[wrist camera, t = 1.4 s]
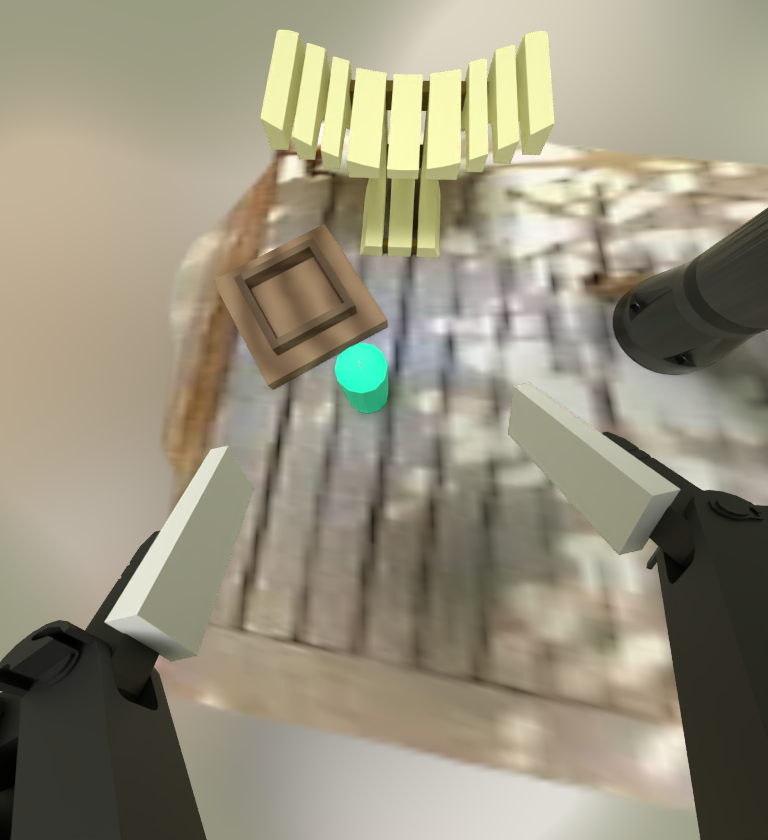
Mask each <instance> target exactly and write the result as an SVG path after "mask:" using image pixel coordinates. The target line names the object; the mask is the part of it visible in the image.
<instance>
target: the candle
mask: <svg viewBox="0 0 768 840" xmlns="http://www.w3.org/2000/svg"><path fill="white" fill-rule="evenodd" d="M335 372H336V376H337V380H338V382H339V384H340V386H341V387H342V389H343V391H344V393H345V395H346V396H347V398H348V400H349V402H350V403H351V405H352V406H353V407H354V408H355V409H357V410H358V411H359V412H363V413H368V414H370V413H373V412H376V411H379V410H380V409H381V408H382V407H383V406H384V405H385V404H386V402H387V397H388V365H387V362H386V359H385V356H384V354H383V353H382V352H381V351H380V350H379V349H378V348H376V347H375V346H374V345H371V344H365V343H358V344H356V345H354V346H351V347H349V348H347V349H346V350H345V351H343V352H342V353H341V354H340V355H339V356H338V357H337V362H336V366H335Z"/></svg>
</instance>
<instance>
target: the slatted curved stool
mask: <svg viewBox="0 0 768 840" xmlns="http://www.w3.org/2000/svg"><path fill="white" fill-rule="evenodd" d="M387 110H391V122H390V136H389V144H388V133H387ZM421 111H426V120H425V130H424V140H423V145H420V128H421ZM295 116H296V117H295ZM294 118H295V123H294V129H293V136H292V137H293V140H294V144H295V147H296V150H297V154H298V157H299V159H313V160H315V155H316V149H317V142H318V137H319V131H320V126H321V122H322V120H325V122H324V129H323V137H322V145H321V154H322V158H323V163H324V167H325V169H340V166H341V158H342V151H343V143H344V137H345V132H346V128H347V129H349V130H350V135H349V144H348V153H347V166H348V173H349V177H355V178H369V181H368V185H367V189H366V193H365V204H364V215H363V226H362V238H361V249H360V255H374V256H382V254H383V252H385V253H388V256H403V257H411V253H415V254H416V257H433V258H439V240H440V200H441V194H440V187H439V181H438V180H457V176H458V171H459V167H460V157H461V132H462V131H465V133H466V172H483V169H484V166H485V162H486V159H487V156H488V123H491V127H492V140H493V163H494V164H510V163H511V160H512V158H513V155H514V152H515V150H516V147H517V145H518V142H519V127H518V123H519V121H520V129H521V141H522V155H540V153H541V151H542V149H543V147H544V145H545V142H546V140H547V138H548V136H549V134H550V132H551V130H552V127H553V125H554V109H553V96H552V84H551V71H550V58H549V45H548V35H547V32H544V31H539V32H532V33H529V34H525V35H524V37H523V39H522V41H521V44H520V46H519V49H518V52H517V55H516V58H515V45H511V46H507V47H503V48H500V49H497V50H495V53H494V56H493V59H492V62H491V66H490V70H489V74H488V78H487V59H486V58H484V59H480V60H476V61H472V62H469V66H468V70H467V74H466V79H465V81H461V69H458V70H451V71H446V72H439V73H431V74H430V80H429V81H423V74H418V75H417V74H416V75H405V74H404V75H403V74H394V80H393V81H388V80H387V73H383V72H376V71H371V70H366V69H360V68H357V70H356V80H352V75H351V67H350V62H349V61H347V60H344V59H341V58H337V57H333V61H332V69H331V74H330V68H329V62H328V57H327V53H326V49H325V48H322V47H319V46H316V45H313V44H309V43H307V48H306V54H305V51H304V47H303V43H302V40H301V37H300V35H299V33H296V32H293V31H289V30H278V31H277V35H276V40H275V45H274V50H273V55H272V61H271V66H270V71H269V77H268V81H267V87H266V92H265V98H264V102H263V108H262V113H261V121H262V123H263V126H264V129H265V132H266V134H267V137H268V139H269V142H270V145H271V148H272V149H278V150H288V148H289V142H290V137H291V132H292V127H293V122H294ZM419 168H421V172H420V186H419V206H418V229H417V239H412V227H413V207H414V190H415V179H418V172H419ZM387 178H392V185H391V205H390V222H389V238H384V226H385V212H386V198H387Z"/></svg>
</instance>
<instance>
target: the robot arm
mask: <svg viewBox="0 0 768 840" xmlns="http://www.w3.org/2000/svg"><path fill="white" fill-rule="evenodd" d="M614 329H615V333H616V336H617V339H618V341H619V343H620V344H621V346H622V347H623V349H624V350H625V351H626V352H627V354H628V355H629V356H630V357H631V358H633V359H634V360H635V361H636V362H638V363H639V364H641V365H642V366H644V367H646V368H648V369H650V370H653V371H656V372H659V373H664V374H685V373H689V372H692V371H695V370H698V369H701V368H704V367H707V366H709V365H711V364H713V363H715V362H717V361H718V360H720V359H721V358H723V357H724V356H725V355H727V354H728V353H730V352H731V351H733V350H734V349H735V348H737V347H738V346H740V345H741V344H743V343H744V342H745V341H747V340H748V339H750V338H751V337H753V336H754V335H755V334H757V333H760V332H762V331H765V330H767V329H768V208H767V209H765V210H764V211H762V212H761V213H759V214H758V215H757V216H755V217H754V218H752V219H751V220H749V221H748V222H746V223H745V224H744V225H742V226H741V227H739V228H738V229H736V230H735V231H734V232H732V233H731V234H729V235H728V236H726V237H725V238H723V239H722V240H721V241H719V242H718V243H716V244H715V245H713V246H712V247H711V248H709V249H708V250H707V251H705V252H704V253H702V254H701V255H699V256H698V257H697V258H695V259H694V260H692V261H690V262H687V263H685V264H682V265H680V266H678V267H675V268H673V269H670V270H668V271H665V272H663V273H660V274H658V275H655V276H653V277H650V278H648V279H646V280H644V281H642V282H641V283H639V284H638V285H637V286H635V287H634V288H633V289H631V290H630V291H629V292H628V293H626V294H625V295H624V296H623V297H622V298H621V300H620V301H619V303H618V304H617V307H616V309H615V313H614ZM508 434H509V435H510V437H511V438H512V439H513V440H514V441H515V442H516V443H517V444H518V445H519V446H520V447H521V449H522V450H523V451H524V452H525V453H526V454H527V455H528V456H529V457H530V458H531V459H532V461H533V462H534V463H535V464H536V465H537V466H538V467H539V468H540V469H541V470H542V472H543V473H544V474H545V475H546V476H547V477H548V478H549V479H550V480H551V481H552V482H553V484H554V485H555V486H556V487H557V488H558V489H559V490H560V491H561V492H562V493H563V495H564V496H565V497H566V498H567V499H568V500H569V501H570V502H571V503H572V504H573V505H574V507H575V508H576V509H577V510H578V511H579V512H580V513H581V514H582V515H583V516H584V517H585V519H586V520H587V521H588V522H589V523H590V524H591V525H592V526H593V527H594V528H595V530H596V531H597V532H598V533H599V534H600V535H601V536H602V537H603V538H604V539H605V540H606V542H607V543H608V544H609V545H610V546H611V547H612V548H613V549H614V550H615V551H616V553H617V554H618V555H621V554H625V553H629V552H634V551H638V550H642V549H643V547H644V545H645V544H646V542H647V541H648V539H649V538H650V539H651V540H653V541H654V542H655V543H656V544H657V545H658V546H659V547H658V548H657V549H656V551H655V552H654V554H653V555H652V557H651V558H650V560H649V561H648V563H647V568H648V569H650V570H651V569H652V568H653V567H654V565H655V564H656V563H657V565H658V572H659V578H660V584H661V590H662V597H663V603H664V609H665V616H666V622H667V629H668V635H669V641H670V648H671V654H672V660H673V667H674V673H675V680H676V686H677V692H678V699H679V705H680V712H681V718H682V724H683V731H684V737H685V743H686V750H687V756H688V763H689V769H690V775H691V782H692V788H693V794H694V801H695V807H696V814H697V819H698V826H699V833H700V839H701V840H768V506H759V505H753V504H752V503H751V502H748V501H746V500H744V499H742V498H740V497H738V496H735V495H732V494H729V493H725V492H721V491H713V490H706V491H703V490H701V489H699V488H698V487H696V486H695V485H693V484H692V483H690V482H689V481H687V480H686V479H684V478H683V477H681V476H680V475H678V474H677V473H675V472H674V471H672V470H671V469H669V468H668V467H666V466H665V465H663V464H662V463H660V462H659V461H657V460H656V459H654V458H651V457H650V455H648V454H647V453H645V452H644V451H642V450H639V448H638V447H636V446H635V445H633V444H632V443H630V442H629V441H627V440H626V439H624V438H622V437H619V436H617V435H614V434H612V433H609V432H603V433H600V432H599V431H597V430H596V429H594V428H593V427H592V426H590V425H589V424H587V423H586V422H585V421H583V420H582V419H580V418H579V417H577V416H576V415H575V414H573V413H572V412H570V411H569V410H568V409H566V408H565V407H563V406H562V405H560V404H559V403H558V402H556V401H555V400H553V399H552V398H551V397H549V396H548V395H546V394H545V393H544V392H542V391H541V390H539V389H538V388H536V387H535V386H534V385H532V384H531V383H526V384H521V385H516V386H514V387H513V396H512V404H511V412H510V420H509V429H508ZM253 490H254V488H253V486H252V484H251V483H250V481H249V479H248V478H247V476H246V474H245V473H244V471H243V469H242V468H241V466H240V464H239V463H238V461H237V459H236V458H235V456H234V454H233V453H232V451H231V449H230V448H229V446H225V447H221V448H216V449H211V450H210V452H209V454H208V455H207V457H206V458H205V460H204V462H203V463H202V465H201V467H200V468H199V470H198V471H197V473H196V475H195V476H194V478H193V479H192V481H191V483H190V484H189V486H188V488H187V489H186V491H185V492H184V494H183V496H182V497H181V499H180V501H179V502H178V504H177V505H176V507H175V509H174V510H173V512H172V513H171V515H170V517H169V518H168V520H167V522H166V523H165V525H164V526H163V528H162V530H161V531H156V532H154V533H153V534H152V535H151V536H150V537H149V538H148V539H147V540H146V541H145V542H144V543H143V544H142V545H141V546H140V548H139V549H138V550H137V552H136V553H135V555H134V556H133V558H132V560H131V561H130V565H128V566H127V567H126V569H125V570H124V572H123V573H122V575H121V579H118V581H117V583H116V584H115V586H114V587H113V589H112V590H111V592H110V593H109V595H108V596H107V598H106V599H105V601H104V602H103V604H102V605H101V607H100V608H99V610H98V612H97V613H96V615H95V616H94V618H93V619H92V621H91V622H90V624H89V625H88V627H87V628H86V630H85V631H84V630H82V629H81V628H78V627H77V626H75V625H73V624H71V623H69V622H67V621H61V620H58V621H55V622H52V623H49V624H46V625H45V626H43V627H41V628H40V629H38V630H36V631H34V632H32V633H31V634H30V635H29V636H27V637H26V638H25V639H23V640H22V641H21V642H20V643H19V644H17V645H16V646H15V647H14V648H13V649H12V650H11V651H10V652H9V653H8V654H7V655H6V656H5V657H4V658H3V659H2V661H1V662H0V691H3V692H1V693H0V840H207V839H206V836H205V832H204V829H203V826H202V822H201V818H200V815H199V812H198V808H197V804H196V801H195V797H194V794H193V790H192V787H191V783H190V780H189V777H188V773H187V769H186V766H185V762H184V759H183V756H182V752H181V748H180V745H179V742H178V738H177V734H176V731H175V727H174V724H173V721H172V717H171V714H170V710H169V706H168V703H167V699H166V696H165V692H164V689H163V685H162V682H161V678H160V675H159V673H158V671H157V670H156V669H155V668H153V667H154V665H155V662H156V660H157V658H158V656H159V655H161V656H163V657H164V658H166V659H168V660H169V661H176V660H180V659H184V658H188V657H192V656H197V655H198V652H199V649H200V646H201V643H202V640H203V637H204V634H205V631H206V628H207V626H208V623H209V620H210V617H211V614H212V611H213V608H214V605H215V602H216V599H217V596H218V593H219V590H220V587H221V584H222V581H223V579H224V576H225V573H226V570H227V567H228V564H229V561H230V558H231V555H232V552H233V549H234V546H235V543H236V540H237V537H238V534H239V532H240V529H241V526H242V523H243V520H244V517H245V514H246V511H247V508H248V505H249V502H250V499H251V496H252V493H253Z"/></svg>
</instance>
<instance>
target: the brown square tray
mask: <svg viewBox="0 0 768 840" xmlns="http://www.w3.org/2000/svg"><path fill="white" fill-rule="evenodd" d="M213 282H214V284H215V286H216V288H217V289H218V291H219V293H220V295H221V297H222V299H223V301H224V303H225V305H226V307H227V309H228V311H229V312H230V314H231V316H232V318H233V320H234V322H235V324H236V326H237V328H238V330H239V332H240V333H241V335H242V337H243V339H244V341H245V343H246V345H247V347H248V349H249V351H250V353H251V355H252V356H253V358H254V360H255V362H256V364H257V366H258V368H259V370H260V372H261V374H262V376H263V378H264V379H265V381H266V383H267V385H268V386H269V387H271V388H272V389H275V388H277V387H279V386H280V385H282V384H284V383H286V382H288V381H289V380H291V379H293V378H295V377H297V376H299V375H300V374H302V373H304V372H306V371H308V370H309V369H311V368H313V367H315V366H317V365H319V364H320V363H322V362H324V361H326V360H328V359H330V358H331V357H333V356H335V355H337V354H339V353H340V352H342V351H344V350H346V349H347V348H349V347H351V346H353V345H355V344H357V343H359V342H360V341H362V340H364V339H366V338H368V337H370V336H371V335H373V334H375V333H377V332H379V331H381V330H382V329H384V328H386V327H387V319H386V317H385V316H384V314H383V313H382V311H381V309H380V308H379V306H378V305H377V303H376V302H375V300H374V299H373V297H372V296H371V294H370V293H369V291H368V290H367V288H366V286H365V285H364V283H363V282H362V280H361V279H360V277H359V276H358V274H357V273H356V271H355V270H354V268H353V266H352V265H351V263H350V262H349V260H348V259H347V257H346V256H345V254H344V253H343V251H342V250H341V248H340V247H339V245H338V243H337V242H336V240H335V239H334V237H333V236H332V234H331V233H330V231H329V230H328V228H327V227H326V225H325V224H324V225H322V226H320V227H318V228H316V229H314V230H312V231H310V232H308V233H306V234H304V235H302V236H300V237H298V238H296V239H294V240H292V241H290V242H288V243H286V244H284V245H282V246H280V247H278V248H276V249H274V250H272V251H270V252H268V253H266V254H264V255H262V256H260V257H258V258H257V259H255V260H253V261H251V262H249V263H247V264H245V265H243V266H241V267H239V268H237V269H235V270H233V271H231V272H229V273H227V274H225V275H223V276H221V277H219V278H217V279H215V280H213Z"/></svg>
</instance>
